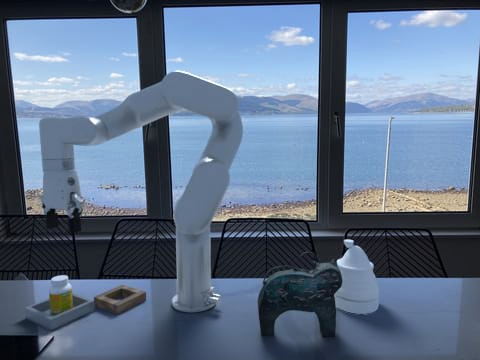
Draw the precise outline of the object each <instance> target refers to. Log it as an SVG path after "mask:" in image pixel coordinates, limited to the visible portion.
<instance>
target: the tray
mask: <svg viewBox="0 0 480 360" xmlns="http://www.w3.org/2000/svg"><path fill="white" fill-rule="evenodd" d="M72 299H73V308H72V309H70V310H67V311H65V312H63V313H61V314H58V315H56V316H54V317H52V316H51V313H50V299H49V297H48V298H47V299H44V300H40V301H38V302H36V303H33V304H31V305H28V306H25V307H24V315H25V317H24V318H25V319H26V320H27V321H29V322H32V323H34V324H36V325H38V326H39V327H42V328H43V329H46V330H48V331H51V332H53V331H56V330H58V329H60V328H61V327H64V326H66V325H70V324H71V323H73V322H75V321H78V320H79V319H81V318H83V317H85V316H88V315H89V314H92V313H94V312H95V311H96V306H95V304H94V299H91V298H88V297H85V296H82V295H80V294H78V293H74V292H72Z"/></svg>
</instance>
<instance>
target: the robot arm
mask: <svg viewBox="0 0 480 360" xmlns="http://www.w3.org/2000/svg"><path fill="white" fill-rule="evenodd" d="M239 108H240V102H239V99H238V97H237V95H236V93H235V92H234V91H233V90H231V88H228V87H226V86H224V85H221V84H218V83H217V82H216V83H215V82H213V81H210V80H207V79H204V78H202V77H199V76H197V75H194V74H191V73H189V72H185V71H182V70H174V71H170V72H169V73H167V74H165V76H164V77H163V79H162V80H161V81H160V82H158V83H155V84H153V85H150V86H148V87H145V88H143V89H141V90H139V91H138V90H137V91H135V92H133V93H131V94H129V95H128V96H126V97H125V99H124V100H123V101H122V102H121V103H120V104H119V105H118V106H115V108H114V107H113V109H110V110H108V111H106V112H104V113H101V114H99V115H96V116H94V117H93V116H86V115H77V116H72V117H71V116H70V117H61V116H60V117H59V116H58V117H43V118H41V119H40V120H39V122H38V129H39V141H40V153H41V164H42V165H41V166H42V173H43V175H42V176H43V177H42V195H41V196H40V198H39V199H40V202H41V207H42V209H43V214H44V217H45V218H44V219H45V227H46V229H47V230H51V229H55V228H58V227H60V226H59V223H60V222H59V213H58V212H57V210H58V211H65V213H66V214H67V215H68V218H67V227H68V234H71V235H72V234H75V233H80V232H81V231H82V224H81V223H82V222H81V217H82V215H83V214H82V213H83V211H84V207H85V206H84V205H85V201H84V200H83V199H82V194H81V193H82V192H81V186H80V180H79V176H78V171H77V170H76V169H75V168H76V164H75V163H76V162H75V150H74V149H75V148H74V145H75V146H82V147H90V146H99V145H101V144H104V143H107V142H109V141H111V140H114V139H116V138H119V137H120V136H123V135H125V134H127V133H129V132H131V131H134V130H136V129H140V128H142V127H143V126H146V125H148V124H151V123H153V122H155V121H157V120H159V119H162V118H164V117H167V116H169V115H172V114H174V113H176V112H178V111H182V110H187V111H189V112H192V113H195V114H197V115H201V116H203V117H205V118H208V119H209V120H210V122H211V125H212V130H211V133H210V135H209V138H208V139H207V143H206V146H205V148H204V149H203V151H202V154H201V155H200V158H199V159H198V161H197V163H196V164H195V165H194V167H193V169H192V173H191V176H190V179H189V180H188V183H187V185H186V186H185V188H184V191H183V193H182V195H181V196H180V197H179V199H177V201H176V203H175V206H174V212H173V221H174V224H175V249H176V251H175V255H176V258H175V259H176V260H175V261H176V286H177V287H176V291H177V293H176V294H175V295H174V296H173V297H172V299H171V305H172V307H173V308H174V309H175V310H177V311H180V312H183V313H199V312H205V311H208V310H210V309H212V308H213V307H214V306H217V307H218V306H220V304H221V300H222V295H221V294H218V293H215V287H214V286H212V275H211V274H212V272H211V271H212V270H211V268H212V265H211V262H212V261H211V249H212V248H211V223H212V221H213V219H214V218H215V215H216V214H217V211H218V210H219V207H220V205H221V204H222V200H223V199H224V197H225V195H226V193H227V190H228V187H229V186H230V185H229V184H230V179H231V176H230V172H229V171H230V169H231V166H232V164H233V162H234V160H235V158H236V156H237V153H238V151H239V148H240V146H241V143H242V140H243V139H242V138H243V135H244V133H243V132H244V130H243V128H244V127H243V126H244V125H243V122H242V121H243V120H242V117H241V115H240V112H239ZM72 210H73V211H72Z"/></svg>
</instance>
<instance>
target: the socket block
mask: <svg viewBox="0 0 480 360" xmlns="http://www.w3.org/2000/svg"><path fill="white" fill-rule="evenodd" d="M121 297H124V298H123V299H121V300H119V301H118V300H117V299H119V298H121ZM93 300H94V304H95V307H97V308H100V309H102V310H105V311H107V312H110V313H113V314H116V315H120V314H122V313H124V312H126V311H128V310H130V309H132V308H133V307H136V306H138V305H140V304H142V303H144V302H145V301H147V292H146V291H144V290H142V289H138V288H135V287H132V286H128V285H125V284H120V285H118V286H116V287H114V288H112V289H110V290H107V291H105V292H102V293H100V294H98V295H95V296H94V297H93Z"/></svg>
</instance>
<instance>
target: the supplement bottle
mask: <svg viewBox="0 0 480 360" xmlns="http://www.w3.org/2000/svg"><path fill="white" fill-rule="evenodd" d="M50 281H51V284H50V285H51V286H50V287H49V289H48V298H49V299H50V313H51V316H52V317H54V316H56V315H58V314H61V313H63V312H65V311H67V310H70V309H72V308H73V299H72V293H73V287H72V284H70V283H69V276H68V275H65V274H64V275H56V276H54V277H52V278H51V279H50Z"/></svg>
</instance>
